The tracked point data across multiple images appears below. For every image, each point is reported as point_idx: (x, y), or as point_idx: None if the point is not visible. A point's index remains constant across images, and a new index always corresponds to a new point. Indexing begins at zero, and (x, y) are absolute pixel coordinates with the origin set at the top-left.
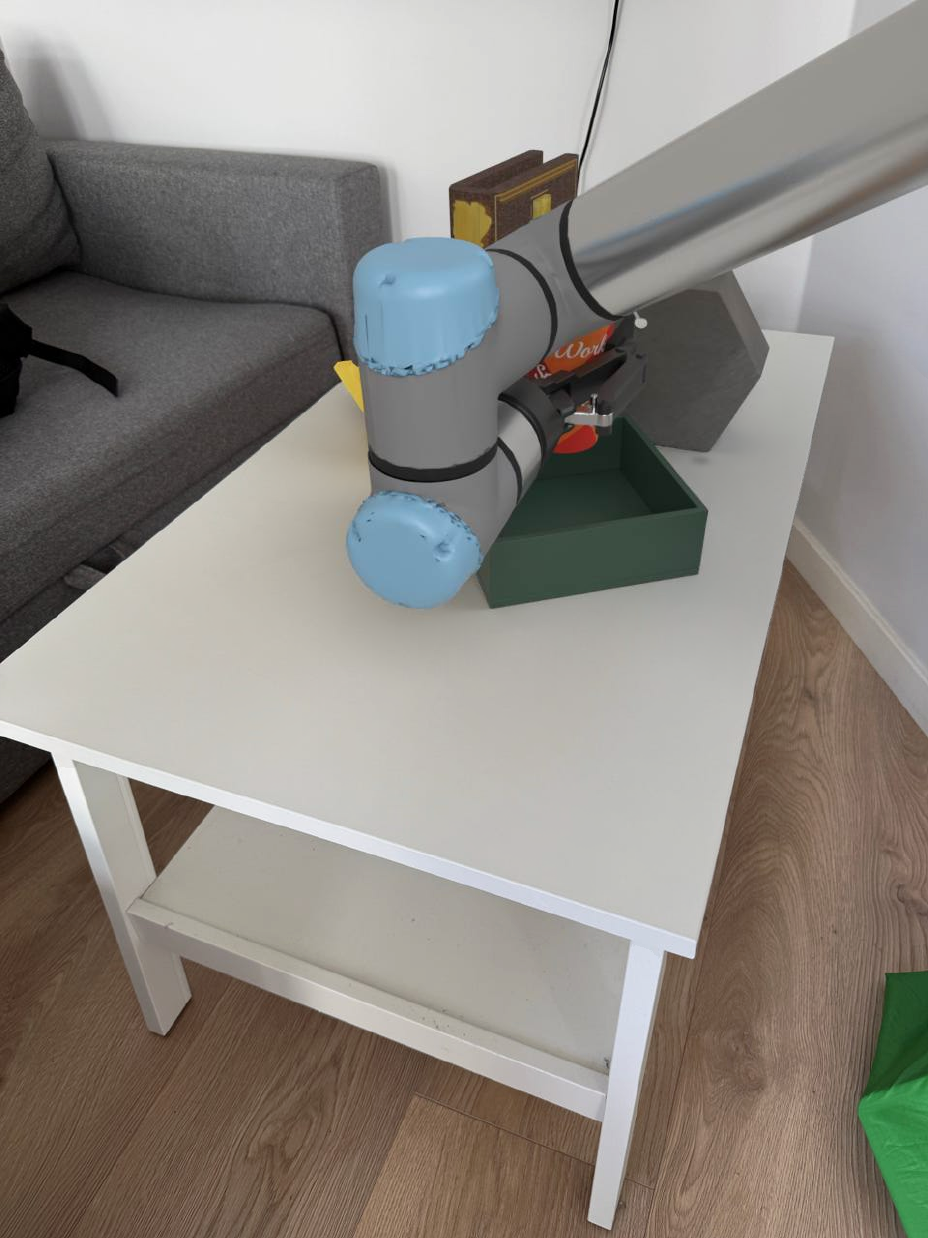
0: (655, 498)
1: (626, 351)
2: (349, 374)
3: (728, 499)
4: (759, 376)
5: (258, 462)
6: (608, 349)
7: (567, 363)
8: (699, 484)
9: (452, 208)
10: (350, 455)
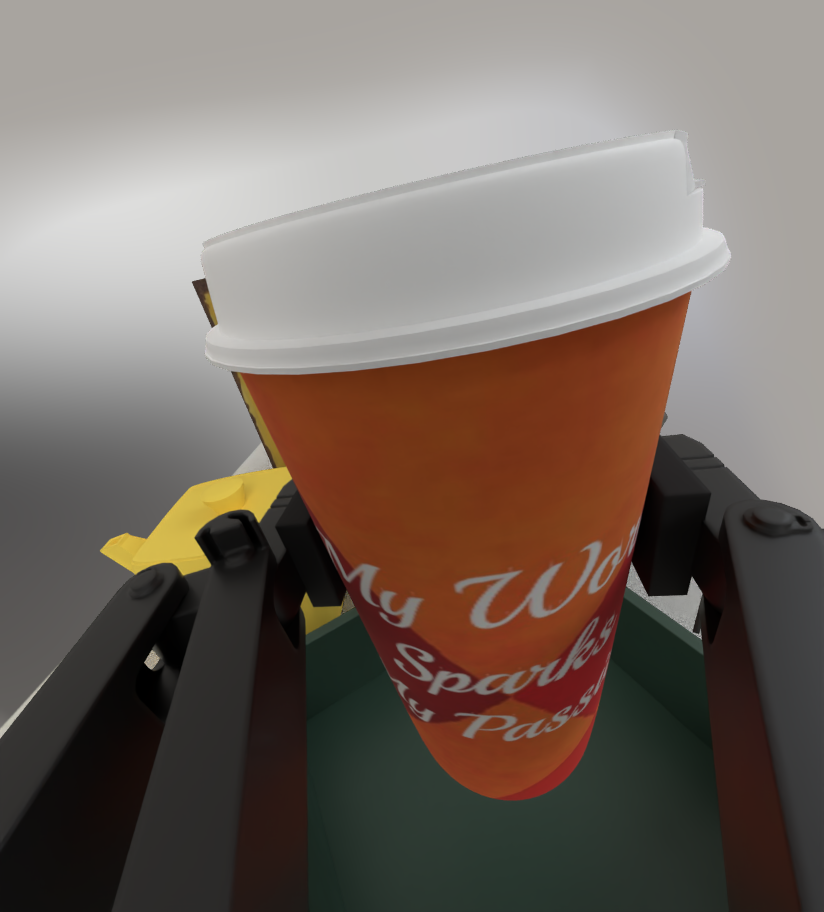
0: (646, 668)
1: (817, 525)
2: (125, 554)
3: (701, 596)
4: (666, 417)
5: (13, 718)
6: (675, 517)
7: (536, 637)
8: (638, 576)
9: (206, 307)
10: (158, 657)
